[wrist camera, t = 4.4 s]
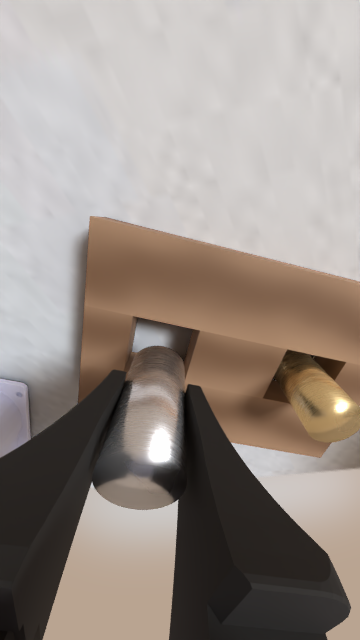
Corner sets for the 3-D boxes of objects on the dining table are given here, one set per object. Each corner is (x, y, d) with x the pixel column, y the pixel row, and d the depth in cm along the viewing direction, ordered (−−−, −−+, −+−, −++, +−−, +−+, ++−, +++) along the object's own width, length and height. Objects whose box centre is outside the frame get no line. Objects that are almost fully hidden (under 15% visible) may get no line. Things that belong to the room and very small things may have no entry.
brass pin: (296, 378, 18) (345, 446, 13) (261, 371, 18) (297, 437, 12) (313, 348, 17) (376, 408, 11) (276, 340, 17) (323, 397, 11)
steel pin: (178, 393, 13) (177, 514, 8) (128, 385, 13) (90, 504, 7) (189, 350, 12) (196, 458, 7) (134, 341, 12) (93, 444, 6)
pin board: (304, 431, 21) (320, 457, 18) (89, 392, 19) (77, 415, 17) (397, 291, 15) (435, 303, 13) (105, 217, 13) (89, 216, 11)
